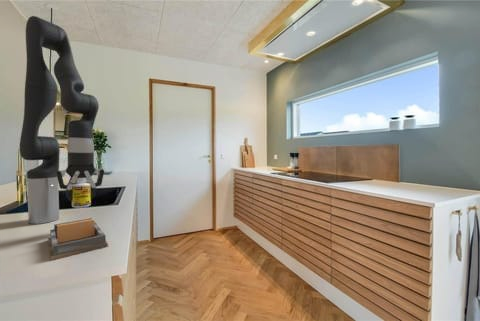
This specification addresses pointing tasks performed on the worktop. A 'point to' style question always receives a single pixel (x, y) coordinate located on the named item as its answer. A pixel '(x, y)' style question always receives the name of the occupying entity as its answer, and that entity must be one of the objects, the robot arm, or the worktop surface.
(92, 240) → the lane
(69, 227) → the board
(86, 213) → the worktop surface
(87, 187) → the supplement bottle
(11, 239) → the worktop surface
